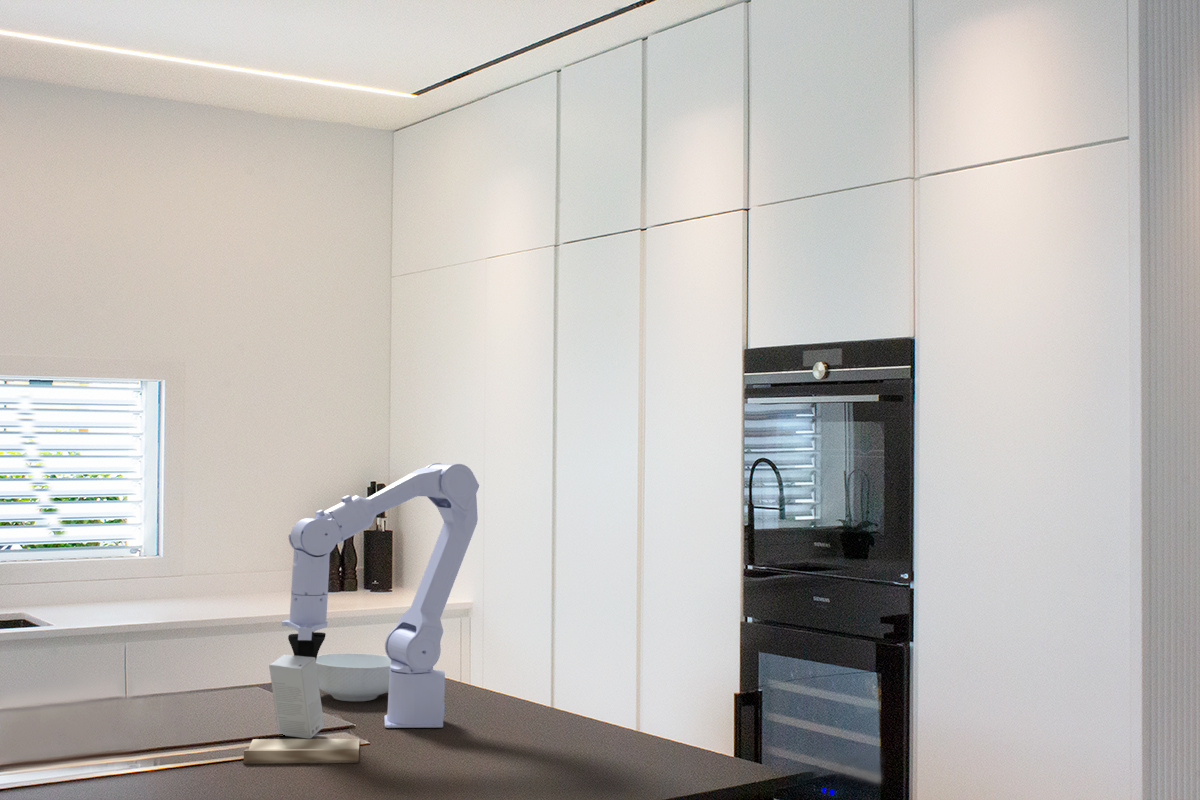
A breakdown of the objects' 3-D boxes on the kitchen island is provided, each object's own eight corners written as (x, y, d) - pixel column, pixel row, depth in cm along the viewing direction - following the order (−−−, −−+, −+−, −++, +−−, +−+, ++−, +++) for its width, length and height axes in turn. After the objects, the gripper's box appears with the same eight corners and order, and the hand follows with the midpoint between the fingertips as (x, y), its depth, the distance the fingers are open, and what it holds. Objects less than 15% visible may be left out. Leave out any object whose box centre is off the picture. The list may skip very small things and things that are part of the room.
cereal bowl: (391, 708, 205) (393, 668, 205) (298, 704, 205) (300, 664, 205) (408, 690, 221) (410, 653, 222) (322, 687, 222) (324, 650, 222)
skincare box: (325, 726, 183) (316, 656, 180) (310, 740, 179) (301, 668, 177) (292, 722, 185) (283, 653, 182) (277, 735, 181) (267, 665, 179)
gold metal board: (359, 741, 180) (359, 729, 180) (358, 762, 167) (359, 750, 167) (252, 741, 176) (253, 729, 177) (243, 763, 164) (244, 750, 164)
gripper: (287, 588, 191) (282, 671, 190) (280, 598, 177) (274, 688, 176) (330, 589, 192) (326, 671, 191) (327, 599, 178) (322, 688, 177)
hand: (304, 679), depth 184 cm, fingers closed
